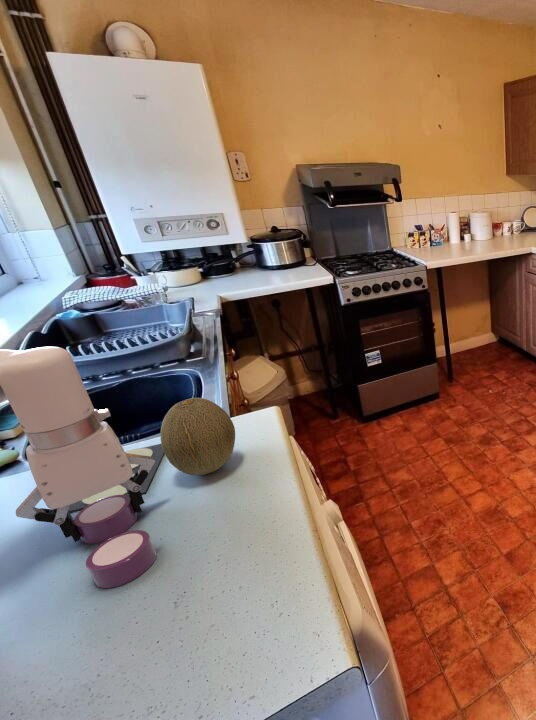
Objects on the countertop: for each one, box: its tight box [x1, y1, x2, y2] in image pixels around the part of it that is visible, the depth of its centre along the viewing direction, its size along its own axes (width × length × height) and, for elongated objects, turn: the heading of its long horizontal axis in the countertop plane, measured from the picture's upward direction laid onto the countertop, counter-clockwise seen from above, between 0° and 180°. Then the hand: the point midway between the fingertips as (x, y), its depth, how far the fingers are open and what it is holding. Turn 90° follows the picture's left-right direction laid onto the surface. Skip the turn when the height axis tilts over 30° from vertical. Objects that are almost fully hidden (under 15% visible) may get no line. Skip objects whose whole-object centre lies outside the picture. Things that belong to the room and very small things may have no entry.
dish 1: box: [73, 495, 139, 545], centre depth 71 cm, size 7×7×4 cm
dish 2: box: [85, 529, 157, 589], centre depth 63 cm, size 7×7×4 cm
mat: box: [68, 443, 165, 514], centre depth 83 cm, size 12×17×1 cm
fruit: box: [160, 397, 236, 476], centre depth 82 cm, size 11×11×15 cm
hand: (108, 521), depth 71 cm, fingers closed on dish 1, 7 cm apart
